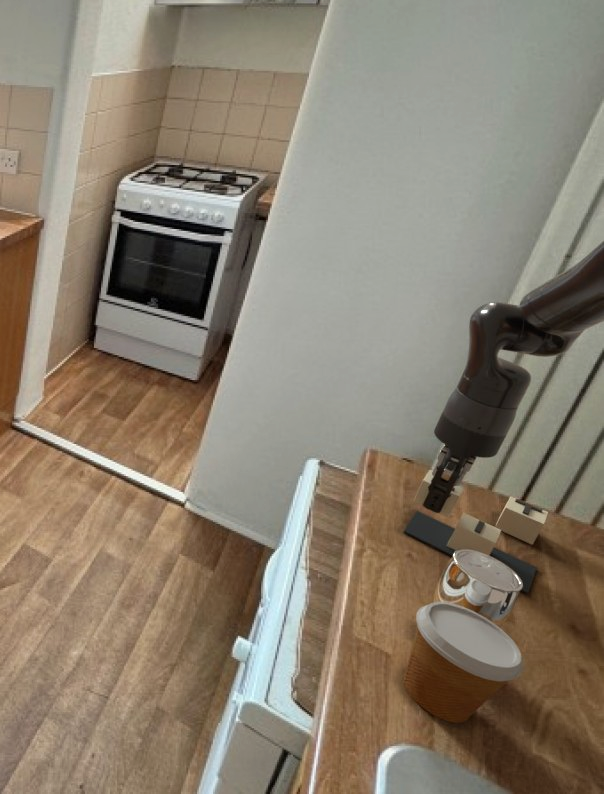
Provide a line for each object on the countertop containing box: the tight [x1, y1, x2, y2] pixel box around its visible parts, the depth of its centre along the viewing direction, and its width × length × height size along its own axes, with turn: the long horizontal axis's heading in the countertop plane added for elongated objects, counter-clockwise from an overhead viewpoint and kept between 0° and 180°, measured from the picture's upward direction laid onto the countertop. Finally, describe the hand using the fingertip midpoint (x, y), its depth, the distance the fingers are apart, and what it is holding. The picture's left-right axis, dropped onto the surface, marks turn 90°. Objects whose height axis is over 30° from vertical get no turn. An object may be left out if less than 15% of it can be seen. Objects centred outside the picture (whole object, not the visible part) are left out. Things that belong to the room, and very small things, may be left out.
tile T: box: [494, 496, 549, 545], centre depth 103 cm, size 5×5×5 cm
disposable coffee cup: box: [403, 601, 524, 724], centre depth 75 cm, size 10×10×12 cm
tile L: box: [413, 469, 467, 519], centre depth 101 cm, size 5×5×5 cm
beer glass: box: [432, 549, 523, 628], centre depth 81 cm, size 7×7×15 cm
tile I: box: [447, 512, 502, 556], centre depth 99 cm, size 5×5×5 cm
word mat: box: [403, 510, 538, 595], centre depth 100 cm, size 15×8×1 cm, turn 36°
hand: (435, 502), depth 102 cm, fingers closed on tile L, 4 cm apart
